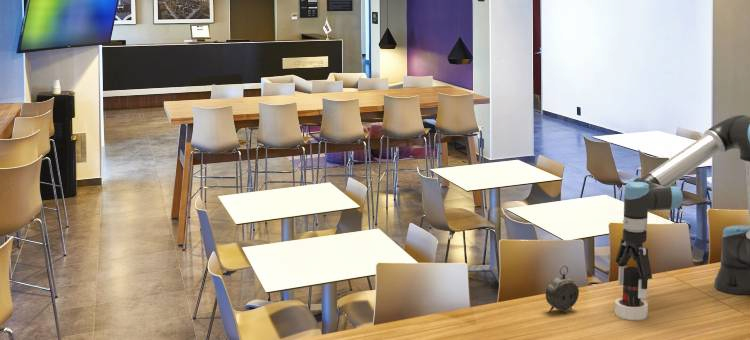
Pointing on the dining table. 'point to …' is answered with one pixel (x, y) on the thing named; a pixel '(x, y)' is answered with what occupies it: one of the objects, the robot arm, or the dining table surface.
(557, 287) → the alarm clock
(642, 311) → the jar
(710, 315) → the dining table surface
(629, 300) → the deodorant
